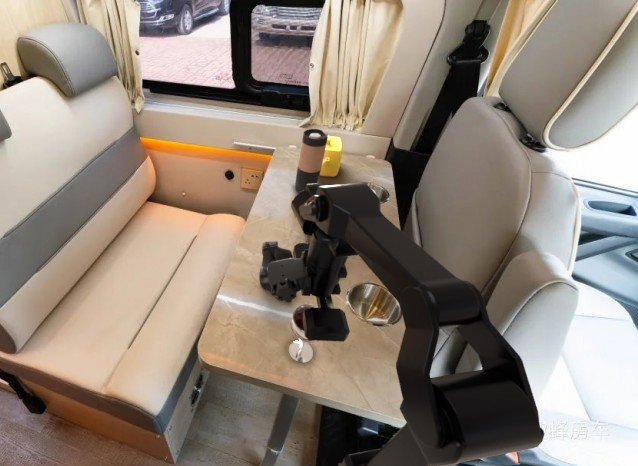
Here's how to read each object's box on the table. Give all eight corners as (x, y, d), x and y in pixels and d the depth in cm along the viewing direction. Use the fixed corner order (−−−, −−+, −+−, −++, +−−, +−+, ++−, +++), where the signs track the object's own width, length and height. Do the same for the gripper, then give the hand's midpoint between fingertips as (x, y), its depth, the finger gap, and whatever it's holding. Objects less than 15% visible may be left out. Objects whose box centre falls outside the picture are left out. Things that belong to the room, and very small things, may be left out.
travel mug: (292, 192, 112) (301, 137, 99) (295, 180, 117) (304, 127, 104) (315, 196, 110) (327, 141, 97) (317, 184, 116) (329, 130, 102)
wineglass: (312, 372, 65) (324, 341, 57) (280, 357, 68) (287, 325, 60) (321, 344, 70) (333, 312, 62) (290, 331, 72) (298, 298, 64)
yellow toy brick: (339, 184, 116) (347, 154, 108) (303, 180, 118) (309, 150, 110) (337, 157, 130) (344, 128, 122) (305, 153, 132) (311, 125, 124)
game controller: (271, 260, 92) (256, 235, 86) (294, 255, 89) (280, 229, 84) (267, 309, 80) (250, 283, 75) (294, 304, 77) (278, 277, 72)
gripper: (270, 216, 57) (263, 275, 68) (277, 305, 43) (267, 361, 54) (335, 218, 57) (317, 277, 67) (363, 309, 43) (336, 365, 53)
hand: (309, 315), depth 60 cm, fingers open, 9 cm apart
